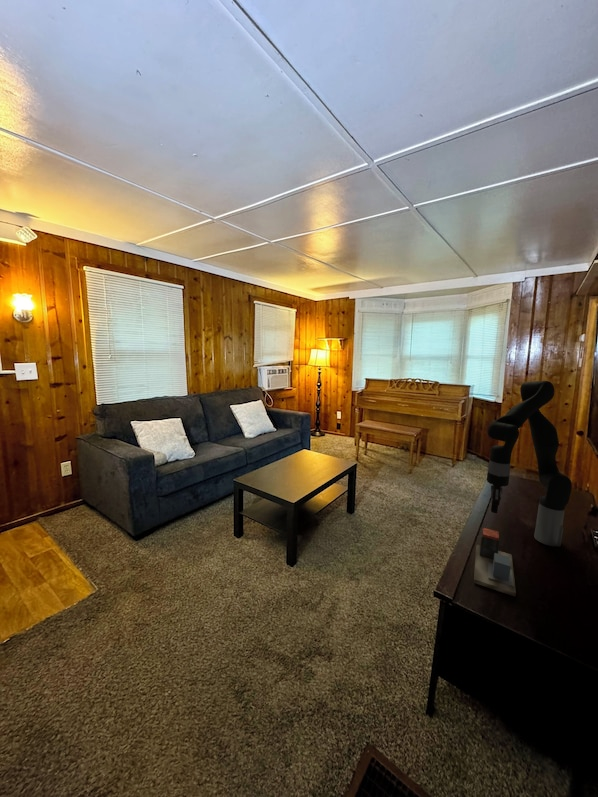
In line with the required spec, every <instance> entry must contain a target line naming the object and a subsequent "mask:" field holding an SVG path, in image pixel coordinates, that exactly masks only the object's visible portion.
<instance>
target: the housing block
mask: <svg viewBox="0 0 598 797" xmlns="http://www.w3.org/2000/svg"><path fill="white" fill-rule="evenodd" d="M510 567H511V565H510V557H507V556H504V555H500V554H497V553H494V560H493V576H495V577H498V578H501V579H504V580H507V581H509V575H510Z"/></svg>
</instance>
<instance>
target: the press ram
mask: <svg viewBox="0 0 598 797" xmlns="http://www.w3.org/2000/svg"><path fill="white" fill-rule="evenodd" d="M482 530H483V537H485V538H489V539H493V540H496V541H499V542H500V533H499V531H497V530H493V529H489V528H485V527H482Z"/></svg>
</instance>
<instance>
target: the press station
mask: <svg viewBox="0 0 598 797" xmlns="http://www.w3.org/2000/svg"><path fill="white" fill-rule="evenodd" d="M480 534H481V537H480V542H479V543H480V545H479V544H476V545H475V556H474V559H475V561H474V573H473V574H474V576H473V583H474V584H477V585H480V586H482V587H485V588H488V589H490V590H495V591H496V592H500V593H502V594H506V595H510V596H512V597H515V598H516V594H517V590H516V583H515V582H516V581H515V574H514V573H515V572H514V565H513V556H512V554H511V553H507V552H504V551H501V550H499V548H500V540H499V541H496V540H493V539H489V538H485V537H483V529H482V530H481V533H480ZM494 553H497V554H500V555H504V556H507V557H510V565H511V567H510V575H509V581H507V580H504V579H501V578H498V577H495V576H493V560H494Z"/></svg>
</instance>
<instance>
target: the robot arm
mask: <svg viewBox="0 0 598 797" xmlns="http://www.w3.org/2000/svg"><path fill="white" fill-rule="evenodd" d="M553 384H554V383H552V382H551V381H548V380H536V381H535V380H534V381H525V382H522V384H521V385H520V398H521V400H522V402H519V403H517V404H514V406H512V407H511V408H510V409H509V410H508V411H506V413H505V414H504V415H503V416H501V417H498V418H496V419H494V420H493V421H492V422H490V424H489V425H488V426H487V430H486V433H487V436H488V437H489V438H490V439H492V440H495V441H501V442H504V444H503V445H501V444H500V445H497V444H496V445H493V446H491V448H490V451H489V452H490V453H489V462H488V465H487V474H486V482H487V483H488V484H490V499H491V500H490V502H491V508H490V512H491V513H493V514H497V513H498V510H499V506H500V502H501V500H502V495H503V492H504V491H503V487H508V486H509V483H510V475H511V459H512V458H511V457H512V452H513V450H514V447H515V445H516V444H517V441H518V439H519V437H520V430H519V429H520V428H521V427H522V426H523V425H524V424H525V422H526V421H527V420H528V423H529V424H528V425H529V430H530V436H531V439H532V444H533V446H534V447H533V448H534V452H535V457H536V461H537V472H538V479H539V483H540V484H541V486H543V487H544V488H545V489H546V493H545V495H541V496H540V497H539V502H538V510H537V515H536V523H535V530H534V535H533V536H534V539H535V540H536V541H538V542H539V543H541V544H543V545H546V546H549V547H561V544H562V538H563V531H564V526H563V525H564V518H565V510H566V506H567V505H568V504H569V502H570V497H571V494H572V488H573V487H572V486H573V485H572V484H573V483H572V480H571V479H570V477H568V476H567V475H565V474H563V473H562V472H560V470H559V467H558V465H557V460H556V458H557V457H556V455H557V453H558V451H559V450H558V449H559V447H560V441H559V436H558V432H557V428H556V427H555V426H554V424H553V423H552V422H551V421H550V420H549V419H548V418H547V417H546V416H545V415H544V414H543V413H542V412H541V410H540V409H541V408H542V407H543V406H545V405H546V404H548V403H549V402H551V401H552V399H553V398H554V396H555V391H556V390H555V387H554V385H553Z"/></svg>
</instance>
